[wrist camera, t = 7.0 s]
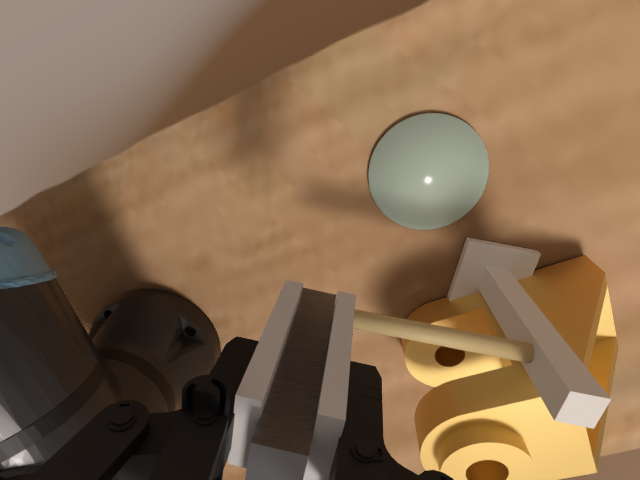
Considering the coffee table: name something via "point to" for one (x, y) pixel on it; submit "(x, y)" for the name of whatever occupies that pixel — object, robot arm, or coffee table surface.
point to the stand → (508, 330)
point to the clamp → (511, 384)
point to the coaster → (428, 171)
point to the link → (293, 394)
